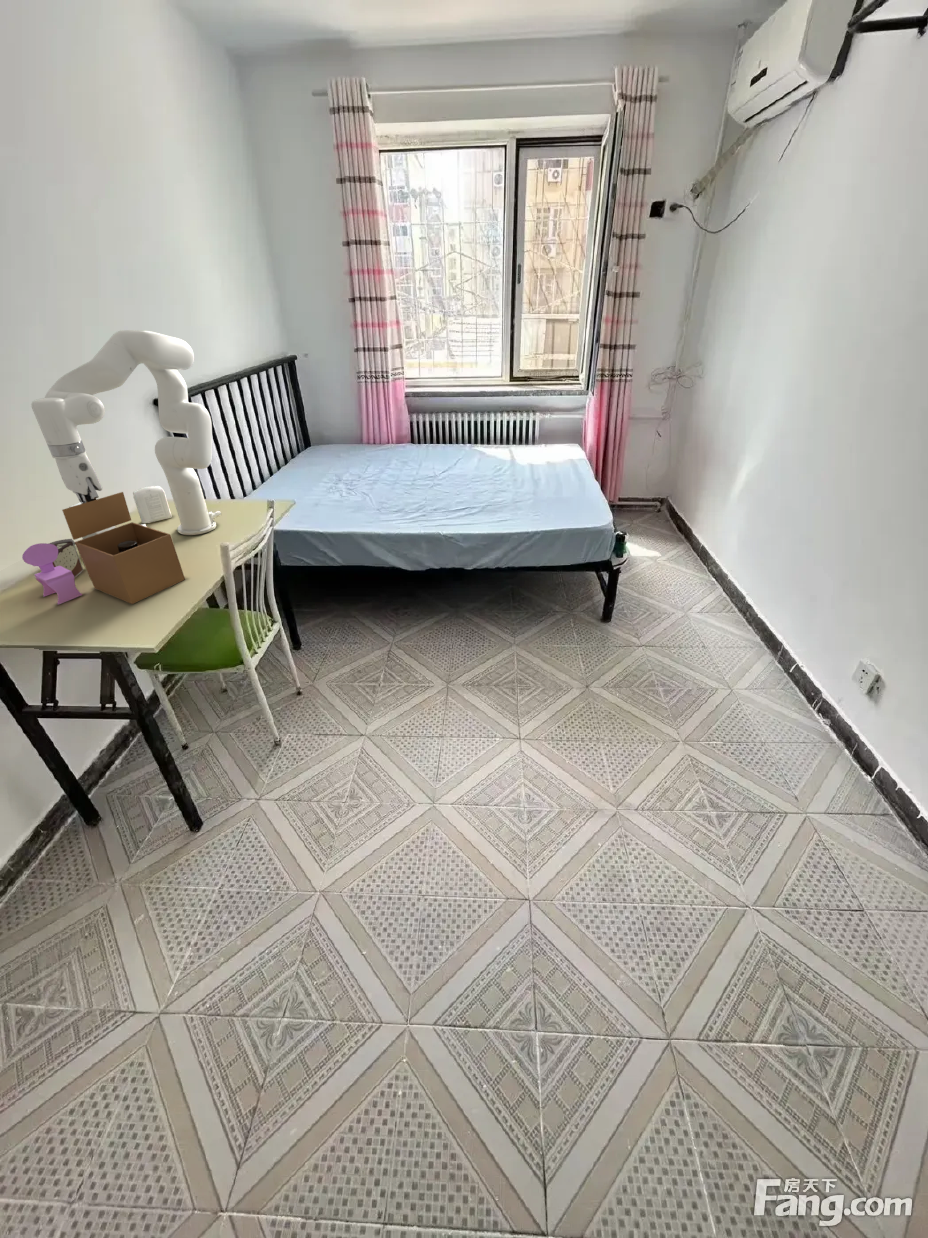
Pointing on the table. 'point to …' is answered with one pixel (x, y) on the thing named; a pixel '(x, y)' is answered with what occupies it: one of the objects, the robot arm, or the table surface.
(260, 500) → the table surface
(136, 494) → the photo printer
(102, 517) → the carton flap
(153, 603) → the table surface
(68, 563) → the food container
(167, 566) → the carton
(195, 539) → the table surface
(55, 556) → the toy chair
